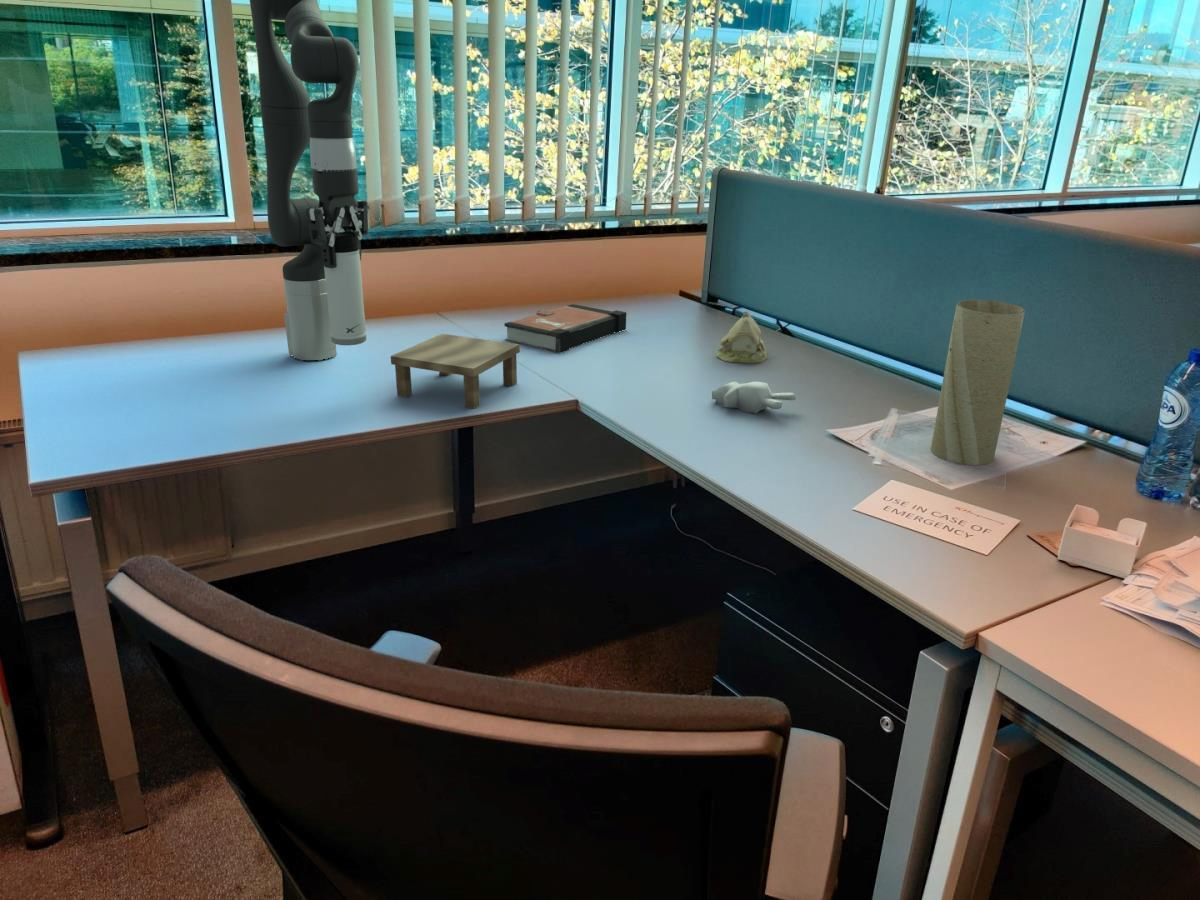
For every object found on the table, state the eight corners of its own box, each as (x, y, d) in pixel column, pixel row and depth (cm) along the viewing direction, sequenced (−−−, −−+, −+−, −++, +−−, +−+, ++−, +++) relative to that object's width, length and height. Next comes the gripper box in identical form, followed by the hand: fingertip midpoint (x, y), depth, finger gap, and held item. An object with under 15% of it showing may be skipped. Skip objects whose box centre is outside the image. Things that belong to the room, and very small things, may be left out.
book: (570, 320, 226) (570, 301, 224) (625, 332, 216) (626, 312, 214) (502, 341, 206) (502, 320, 204) (560, 354, 197) (560, 333, 195)
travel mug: (358, 347, 157) (349, 234, 149) (325, 344, 158) (313, 232, 150) (374, 338, 163) (365, 229, 155) (341, 335, 164) (331, 227, 156)
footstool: (393, 396, 167) (390, 356, 164) (443, 370, 182) (441, 333, 179) (475, 410, 161) (473, 368, 158) (520, 382, 176) (519, 344, 173)
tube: (961, 468, 140) (991, 316, 130) (917, 446, 149) (942, 302, 139) (1007, 459, 144) (1040, 311, 134) (962, 438, 152) (989, 297, 143)
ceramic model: (765, 366, 191) (769, 321, 187) (714, 361, 193) (717, 317, 189) (769, 349, 203) (773, 307, 199) (721, 345, 206) (724, 303, 202)
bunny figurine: (728, 375, 171) (799, 382, 162) (729, 400, 173) (799, 408, 164) (703, 386, 164) (776, 394, 155) (704, 412, 166) (776, 422, 157)
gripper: (342, 161, 156) (351, 255, 162) (287, 167, 143) (298, 269, 150) (377, 164, 153) (384, 259, 160) (324, 170, 141) (334, 273, 147)
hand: (342, 263), depth 155 cm, fingers closed on travel mug, 6 cm apart
